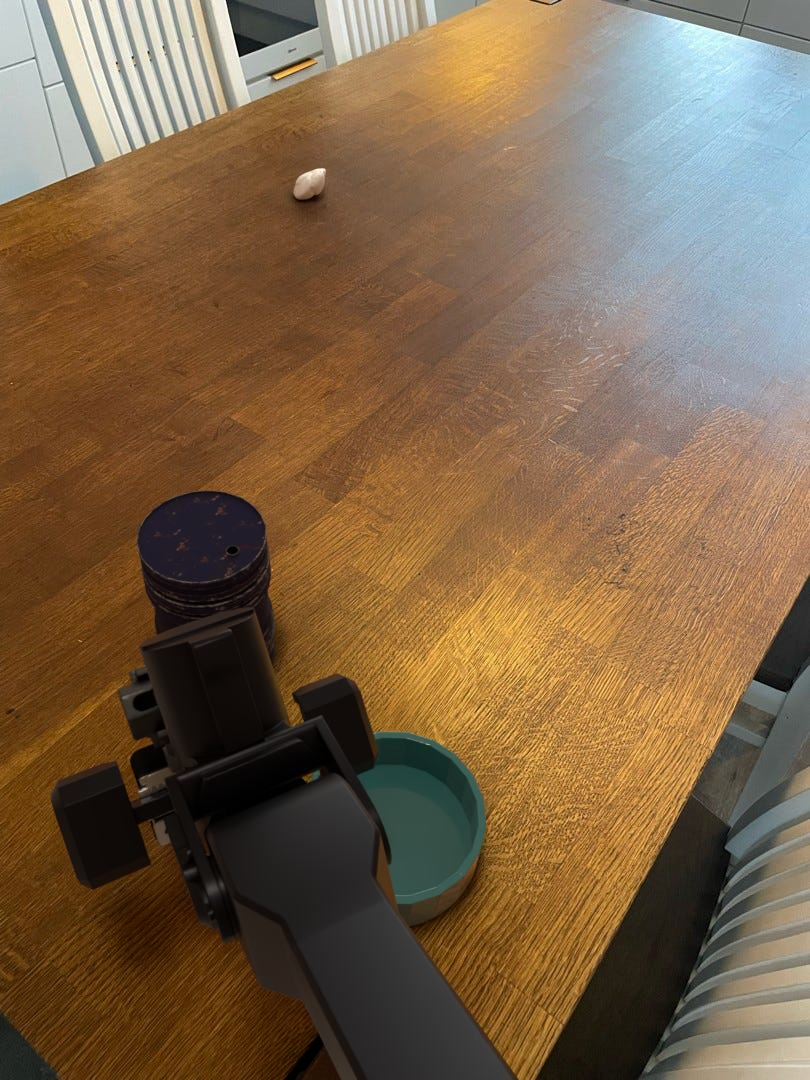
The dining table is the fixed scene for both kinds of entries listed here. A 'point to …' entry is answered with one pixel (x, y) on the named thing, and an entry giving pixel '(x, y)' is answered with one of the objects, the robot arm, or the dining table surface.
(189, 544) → the dark blue cylinder
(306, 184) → the dumpling
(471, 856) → the pan
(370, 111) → the dining table surface
